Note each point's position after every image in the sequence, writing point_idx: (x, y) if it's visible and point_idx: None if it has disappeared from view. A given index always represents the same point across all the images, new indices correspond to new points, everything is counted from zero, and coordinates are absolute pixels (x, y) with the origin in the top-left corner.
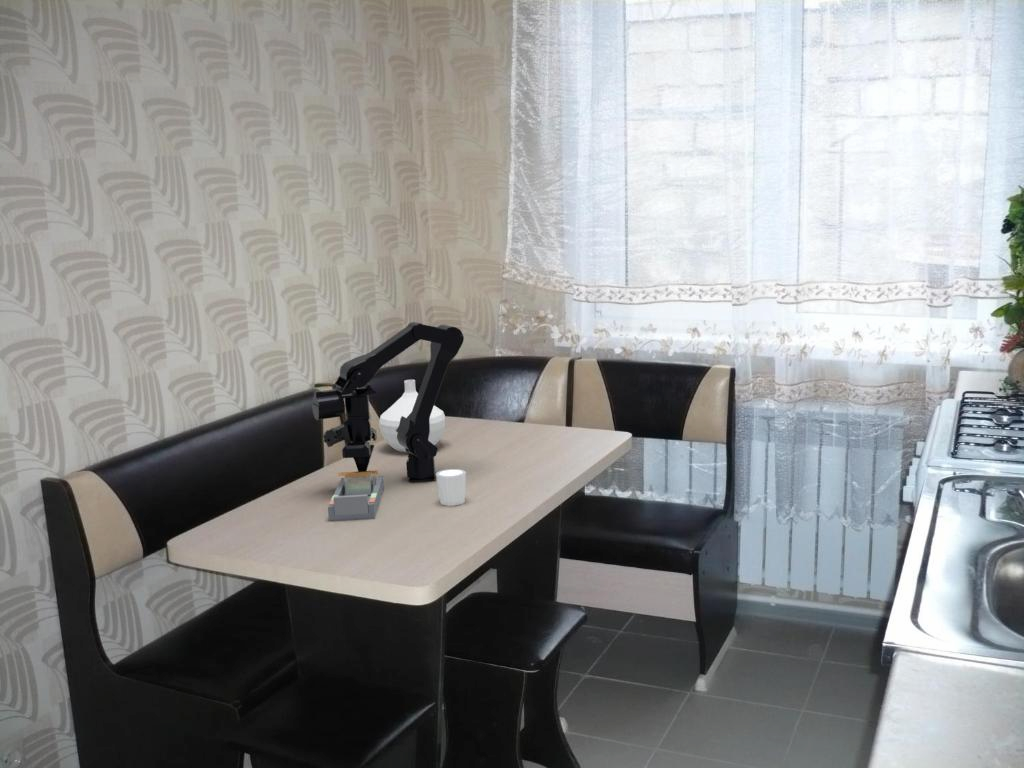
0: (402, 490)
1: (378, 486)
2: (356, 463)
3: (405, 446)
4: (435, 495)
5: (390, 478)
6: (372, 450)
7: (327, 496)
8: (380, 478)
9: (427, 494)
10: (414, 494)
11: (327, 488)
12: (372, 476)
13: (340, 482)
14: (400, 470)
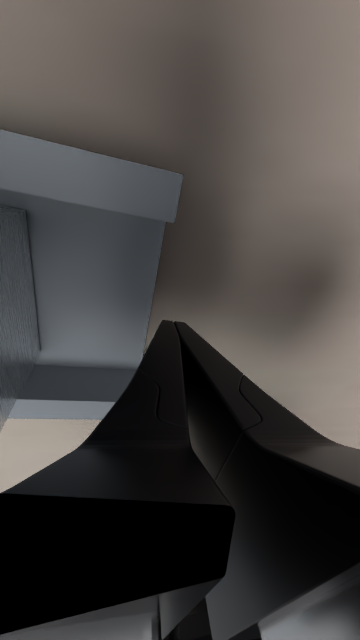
0: (91, 420)
1: None
2: (126, 390)
3: (208, 638)
4: (10, 487)
5: (267, 387)
6: (206, 596)
7: (48, 3)
8: (83, 413)
9: (25, 473)
10: (29, 449)
11: (286, 43)
12: (6, 413)
13: (16, 146)
14: (337, 408)
